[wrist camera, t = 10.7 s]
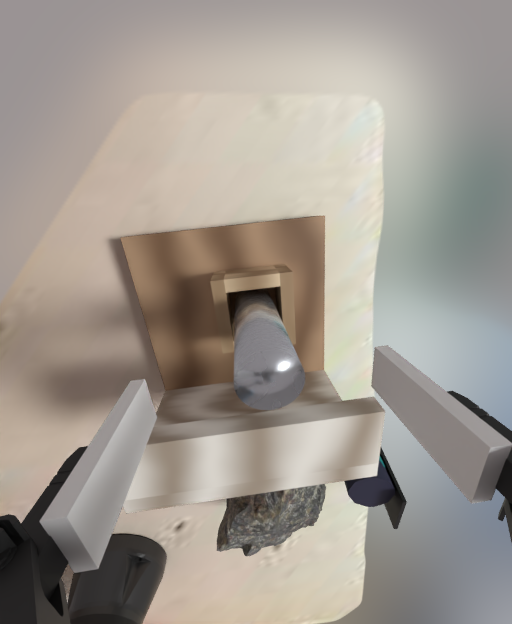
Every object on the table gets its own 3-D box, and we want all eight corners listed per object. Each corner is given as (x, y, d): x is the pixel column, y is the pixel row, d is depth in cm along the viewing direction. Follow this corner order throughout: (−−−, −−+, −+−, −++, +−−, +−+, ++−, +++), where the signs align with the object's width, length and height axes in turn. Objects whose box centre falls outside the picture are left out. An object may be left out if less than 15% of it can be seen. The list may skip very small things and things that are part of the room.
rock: (205, 425, 31) (181, 515, 34) (274, 523, 21) (233, 634, 24) (294, 398, 43) (271, 466, 46) (363, 453, 34) (328, 532, 37)
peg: (232, 286, 25) (228, 355, 12) (269, 281, 26) (304, 345, 13) (237, 320, 27) (238, 414, 14) (272, 316, 27) (306, 405, 14)
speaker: (385, 430, 38) (427, 504, 28) (366, 454, 40) (399, 530, 30) (342, 416, 37) (369, 487, 27) (325, 441, 39) (345, 515, 29)
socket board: (172, 391, 32) (127, 515, 19) (128, 236, 25) (1, 256, 11) (318, 371, 33) (376, 477, 19) (318, 215, 25) (410, 212, 12)
